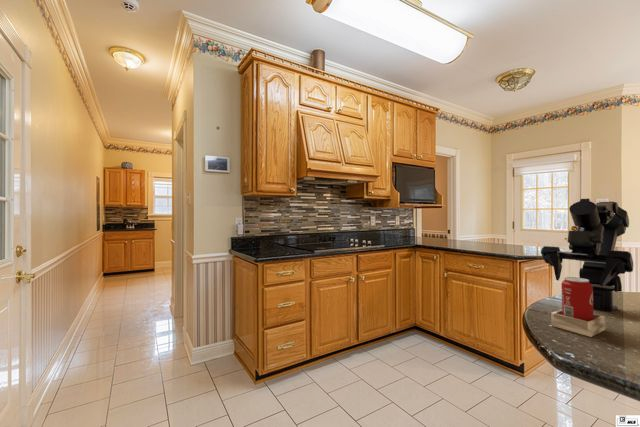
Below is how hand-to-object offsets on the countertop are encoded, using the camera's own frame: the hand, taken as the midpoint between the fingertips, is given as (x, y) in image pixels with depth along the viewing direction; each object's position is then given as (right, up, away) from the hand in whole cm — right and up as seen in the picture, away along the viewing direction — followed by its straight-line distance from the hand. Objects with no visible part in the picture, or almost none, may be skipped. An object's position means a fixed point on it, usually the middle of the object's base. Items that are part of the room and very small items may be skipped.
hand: (578, 282), depth 78 cm
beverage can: (-1, -11, -1) cm, 11 cm away
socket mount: (-1, -12, -1) cm, 12 cm away
